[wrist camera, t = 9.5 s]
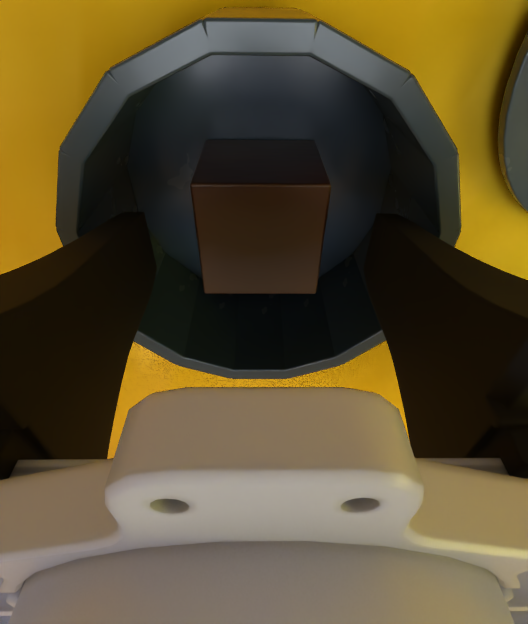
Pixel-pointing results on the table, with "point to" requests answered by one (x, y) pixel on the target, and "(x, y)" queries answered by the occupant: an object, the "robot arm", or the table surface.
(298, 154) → the block
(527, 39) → the lid
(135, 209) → the tin
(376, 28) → the table surface
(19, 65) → the table surface
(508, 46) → the table surface
